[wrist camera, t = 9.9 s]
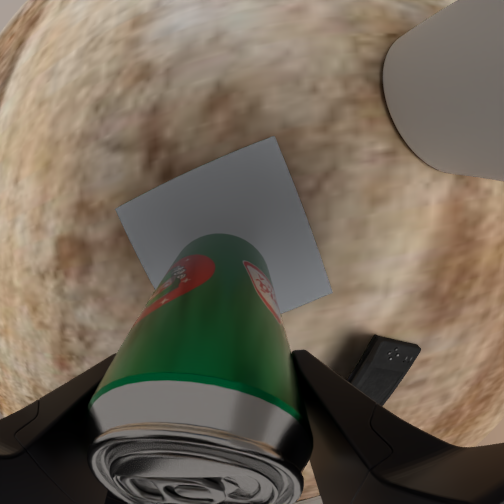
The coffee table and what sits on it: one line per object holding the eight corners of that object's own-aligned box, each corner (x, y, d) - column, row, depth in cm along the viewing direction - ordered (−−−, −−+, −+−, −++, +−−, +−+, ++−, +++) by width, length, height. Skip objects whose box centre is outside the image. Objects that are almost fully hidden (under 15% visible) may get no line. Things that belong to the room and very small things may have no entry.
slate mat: (189, 342, 23) (188, 346, 22) (118, 207, 20) (115, 208, 19) (330, 289, 22) (332, 292, 21) (273, 136, 19) (274, 135, 18)
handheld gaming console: (385, 427, 26) (362, 484, 17) (330, 407, 30) (291, 455, 21) (425, 336, 24) (422, 376, 16) (360, 317, 28) (329, 347, 20)
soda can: (270, 315, 16) (312, 523, 5) (182, 321, 16) (124, 519, 5) (266, 227, 15) (342, 408, 3) (167, 234, 15) (23, 398, 3)
